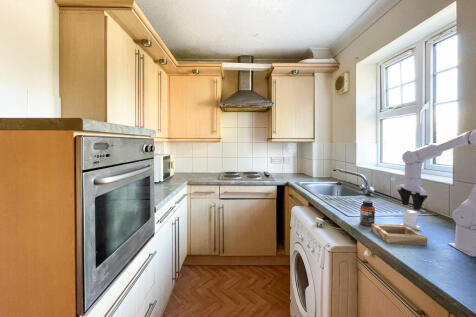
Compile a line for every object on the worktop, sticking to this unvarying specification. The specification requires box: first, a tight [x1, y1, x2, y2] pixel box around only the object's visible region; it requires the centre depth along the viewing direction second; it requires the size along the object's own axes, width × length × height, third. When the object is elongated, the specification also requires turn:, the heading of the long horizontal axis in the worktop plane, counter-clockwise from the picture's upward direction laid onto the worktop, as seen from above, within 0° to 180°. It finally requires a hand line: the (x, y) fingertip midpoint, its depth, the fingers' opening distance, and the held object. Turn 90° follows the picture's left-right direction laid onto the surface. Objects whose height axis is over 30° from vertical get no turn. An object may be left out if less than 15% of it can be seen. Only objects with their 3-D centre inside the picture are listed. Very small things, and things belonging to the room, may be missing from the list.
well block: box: [370, 223, 428, 246], centre depth 89 cm, size 13×14×3 cm
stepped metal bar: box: [398, 209, 422, 231], centre depth 98 cm, size 4×7×8 cm, turn 83°
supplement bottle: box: [359, 199, 376, 227], centre depth 103 cm, size 6×6×11 cm
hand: (410, 207), depth 98 cm, fingers open, 7 cm apart
